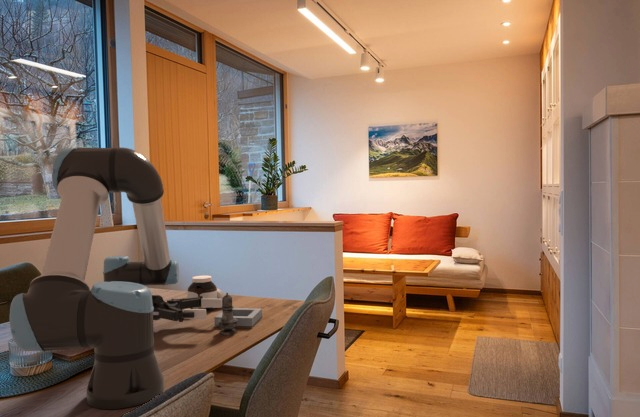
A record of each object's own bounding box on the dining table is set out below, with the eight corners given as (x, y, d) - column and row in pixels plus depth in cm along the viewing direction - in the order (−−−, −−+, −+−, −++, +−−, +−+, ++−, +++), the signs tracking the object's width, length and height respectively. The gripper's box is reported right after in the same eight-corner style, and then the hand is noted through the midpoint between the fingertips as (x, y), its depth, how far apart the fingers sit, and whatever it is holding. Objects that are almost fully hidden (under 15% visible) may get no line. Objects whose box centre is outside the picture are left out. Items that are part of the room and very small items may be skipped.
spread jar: (184, 311, 174) (183, 278, 174) (202, 303, 185) (201, 272, 184) (214, 313, 170) (213, 279, 170) (230, 305, 181) (229, 274, 180)
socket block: (252, 327, 152) (251, 318, 151) (214, 326, 153) (214, 317, 153) (262, 317, 163) (262, 308, 163) (227, 316, 165) (227, 307, 165)
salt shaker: (233, 335, 144) (232, 294, 143) (214, 334, 145) (213, 294, 145) (240, 329, 150) (240, 290, 149) (222, 328, 151) (221, 290, 150)
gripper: (165, 309, 164) (227, 310, 161) (126, 331, 139) (198, 333, 136) (165, 287, 163) (226, 287, 161) (125, 305, 139) (198, 306, 136)
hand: (214, 308), depth 148 cm, fingers open, 13 cm apart
